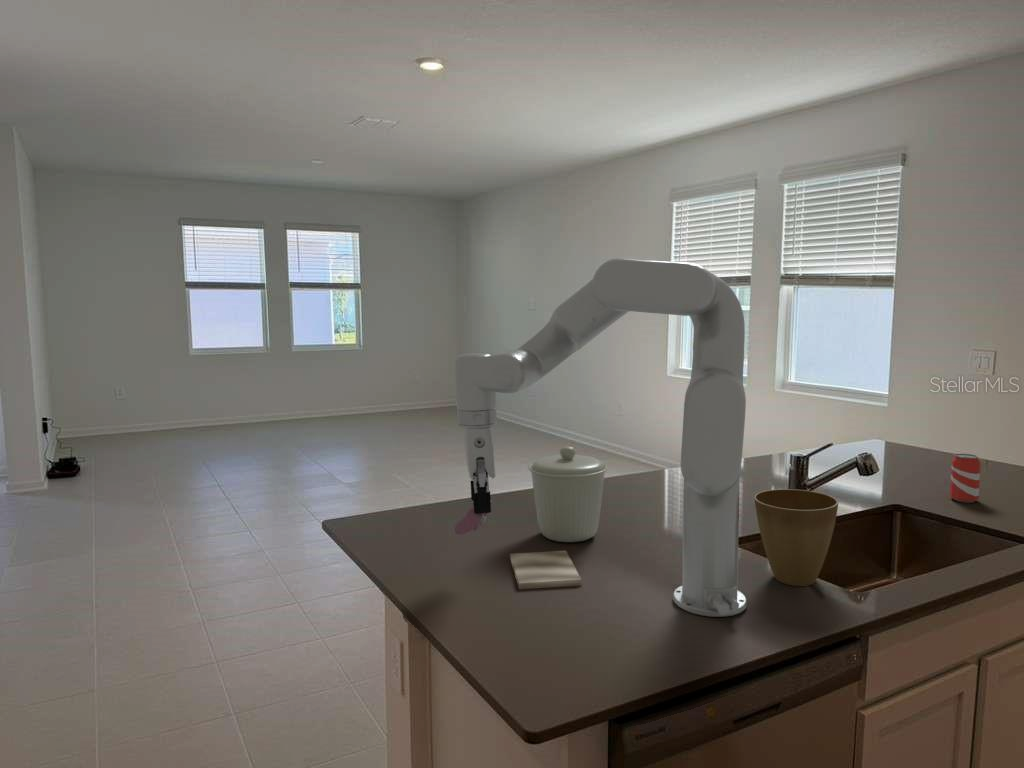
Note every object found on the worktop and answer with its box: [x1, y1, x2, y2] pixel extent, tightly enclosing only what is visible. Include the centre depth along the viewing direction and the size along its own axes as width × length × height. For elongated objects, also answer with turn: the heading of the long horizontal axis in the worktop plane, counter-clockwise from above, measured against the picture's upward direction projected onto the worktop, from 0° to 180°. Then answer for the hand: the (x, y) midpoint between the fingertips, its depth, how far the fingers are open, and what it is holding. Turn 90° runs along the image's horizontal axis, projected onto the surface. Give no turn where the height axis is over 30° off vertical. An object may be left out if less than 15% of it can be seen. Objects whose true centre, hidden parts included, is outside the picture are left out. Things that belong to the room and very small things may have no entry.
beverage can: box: [949, 453, 982, 504], centre depth 186 cm, size 6×6×12 cm
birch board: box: [509, 550, 582, 590], centre depth 142 cm, size 16×12×1 cm
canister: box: [528, 445, 608, 543], centre depth 163 cm, size 18×18×21 cm
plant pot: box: [753, 488, 839, 587], centre depth 136 cm, size 15×15×16 cm
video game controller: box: [454, 500, 493, 535], centre depth 138 cm, size 10×5×7 cm, turn 169°
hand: (480, 505), depth 137 cm, fingers closed on video game controller, 8 cm apart
